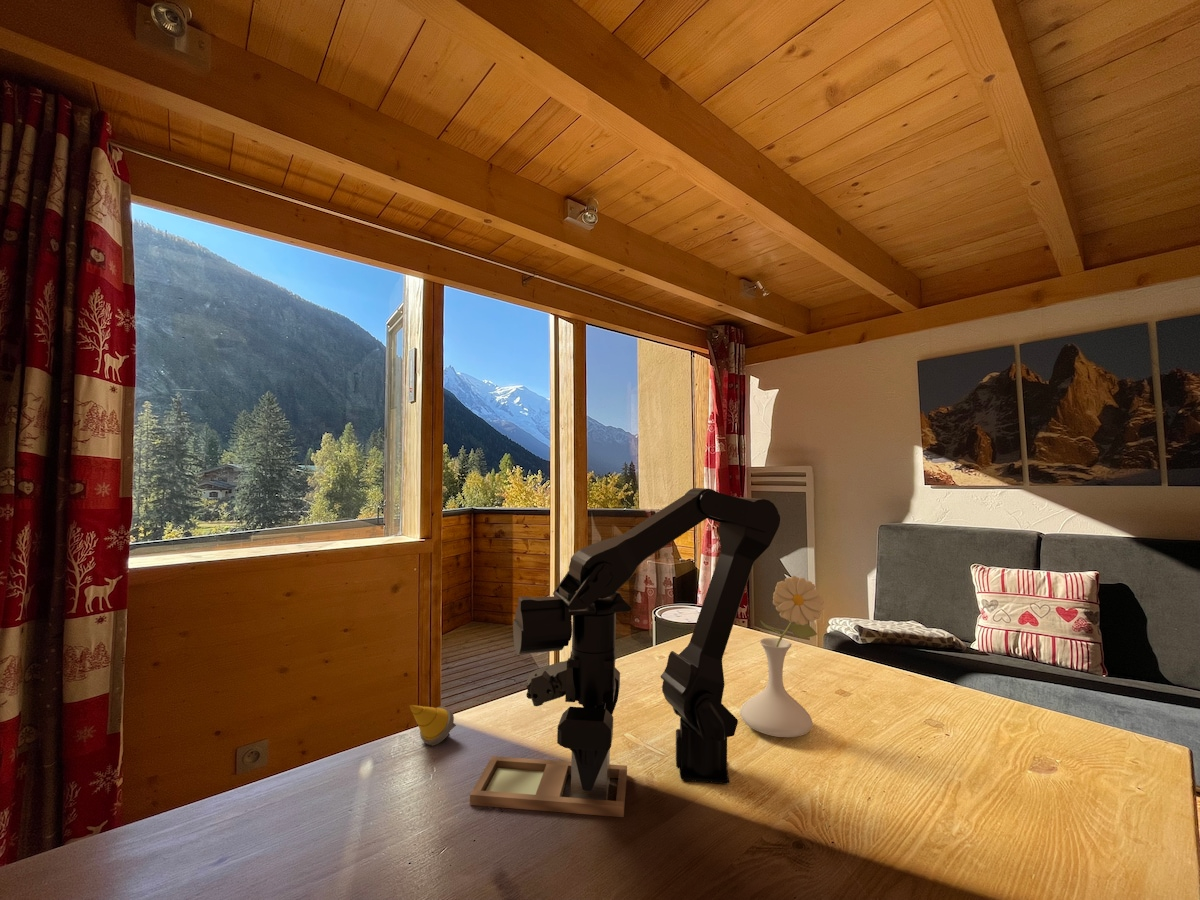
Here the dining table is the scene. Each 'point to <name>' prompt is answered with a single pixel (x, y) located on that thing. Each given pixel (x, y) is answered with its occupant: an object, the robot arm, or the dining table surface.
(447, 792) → the dining table surface
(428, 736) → the yellow and grey cone
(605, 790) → the grey tall block
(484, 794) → the wooden double frame
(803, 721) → the flower in vase
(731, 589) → the robot arm
